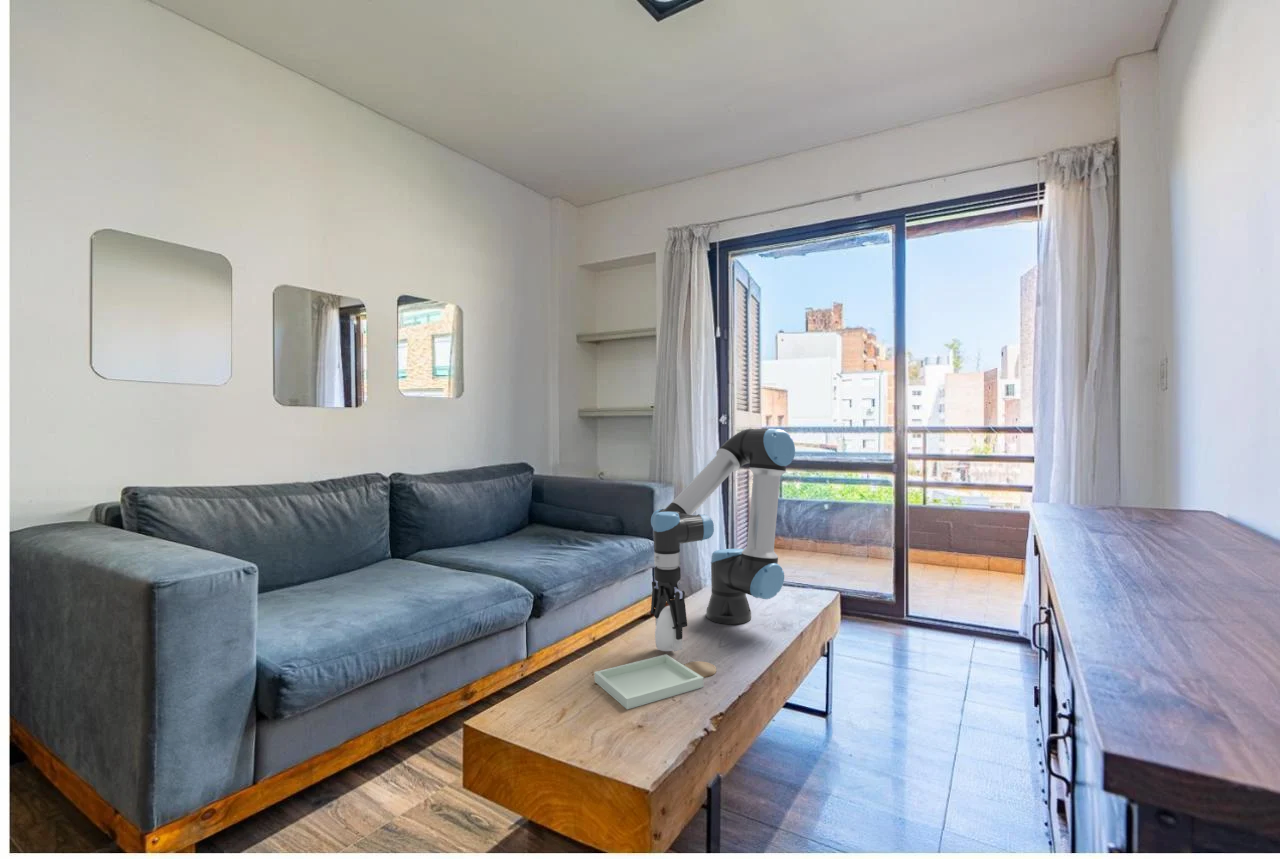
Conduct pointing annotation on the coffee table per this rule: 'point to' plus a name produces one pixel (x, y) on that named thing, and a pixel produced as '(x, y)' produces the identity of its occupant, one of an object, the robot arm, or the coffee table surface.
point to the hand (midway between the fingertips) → (669, 644)
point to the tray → (648, 680)
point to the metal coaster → (702, 668)
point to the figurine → (664, 630)
